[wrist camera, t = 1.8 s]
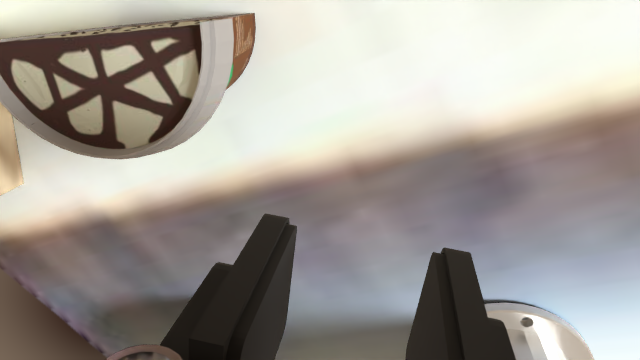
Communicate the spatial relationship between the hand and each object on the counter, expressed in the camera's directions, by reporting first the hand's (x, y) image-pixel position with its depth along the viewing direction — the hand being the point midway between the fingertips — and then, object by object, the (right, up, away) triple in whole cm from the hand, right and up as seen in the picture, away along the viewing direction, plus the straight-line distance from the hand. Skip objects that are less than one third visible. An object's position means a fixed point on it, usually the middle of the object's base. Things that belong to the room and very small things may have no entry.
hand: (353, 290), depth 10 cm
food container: (-9, +10, +19) cm, 23 cm away
